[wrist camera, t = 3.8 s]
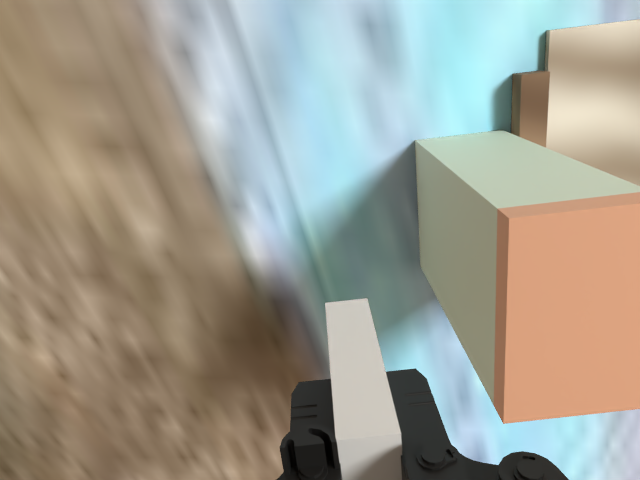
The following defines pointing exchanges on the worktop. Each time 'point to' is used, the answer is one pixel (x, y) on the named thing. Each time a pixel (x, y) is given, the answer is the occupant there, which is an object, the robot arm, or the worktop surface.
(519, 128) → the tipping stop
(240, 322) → the worktop surface
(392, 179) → the worktop surface
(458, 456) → the robot arm
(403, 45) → the worktop surface
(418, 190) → the sage block
